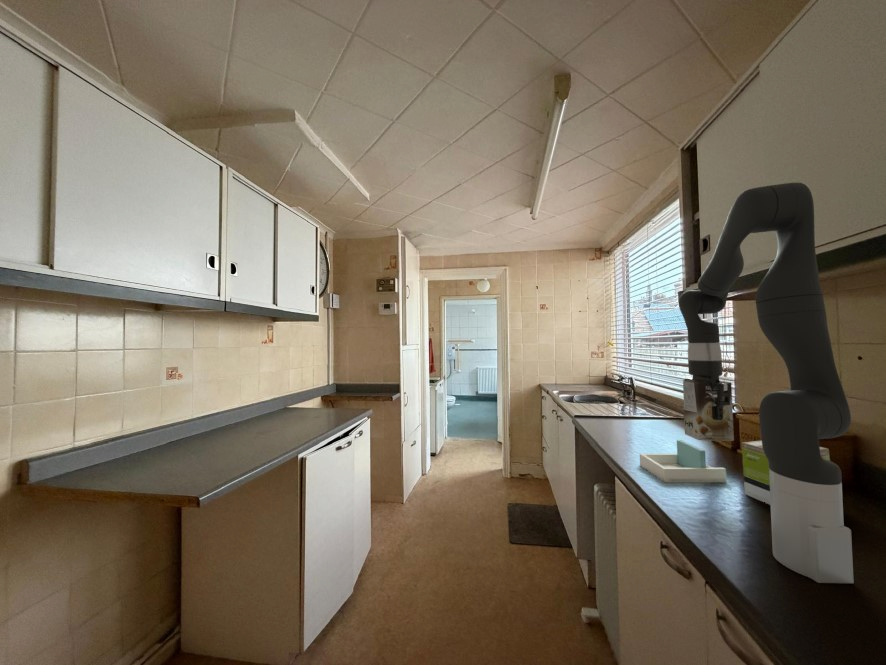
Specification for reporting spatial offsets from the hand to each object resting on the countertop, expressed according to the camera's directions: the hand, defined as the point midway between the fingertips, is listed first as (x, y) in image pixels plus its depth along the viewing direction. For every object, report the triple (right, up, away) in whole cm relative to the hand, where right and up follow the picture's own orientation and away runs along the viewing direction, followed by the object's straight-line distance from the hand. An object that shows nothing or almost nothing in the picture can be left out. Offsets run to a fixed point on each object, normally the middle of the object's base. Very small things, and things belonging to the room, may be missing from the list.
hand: (707, 416), depth 91 cm
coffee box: (0, -6, 0) cm, 6 cm away
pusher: (+4, -20, +11) cm, 23 cm away
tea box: (+16, -21, -6) cm, 27 cm away
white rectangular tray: (+1, -21, +12) cm, 24 cm away
